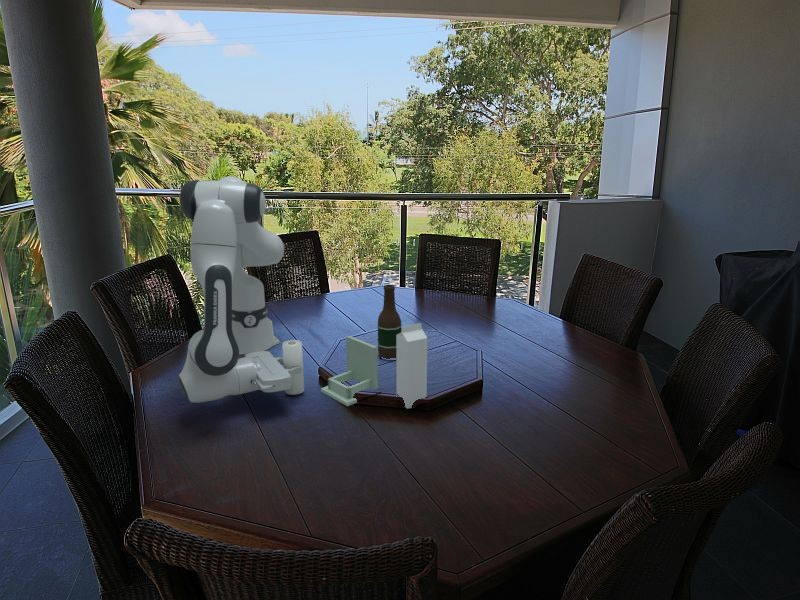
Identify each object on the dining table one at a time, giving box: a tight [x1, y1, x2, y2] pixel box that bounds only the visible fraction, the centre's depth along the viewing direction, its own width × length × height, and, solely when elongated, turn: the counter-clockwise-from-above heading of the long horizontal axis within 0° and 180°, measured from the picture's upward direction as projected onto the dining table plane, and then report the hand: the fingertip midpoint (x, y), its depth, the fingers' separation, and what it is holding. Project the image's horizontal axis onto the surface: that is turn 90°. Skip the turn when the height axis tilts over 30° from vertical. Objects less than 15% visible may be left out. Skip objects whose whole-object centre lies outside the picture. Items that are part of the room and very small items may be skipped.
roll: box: [281, 339, 305, 396], centre depth 148 cm, size 5×5×14 cm
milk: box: [395, 322, 428, 410], centre depth 142 cm, size 6×6×22 cm
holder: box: [320, 335, 379, 407], centre depth 149 cm, size 12×12×14 cm
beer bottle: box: [377, 284, 402, 359], centre depth 172 cm, size 8×8×24 cm
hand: (296, 364), depth 148 cm, fingers closed on roll, 5 cm apart
